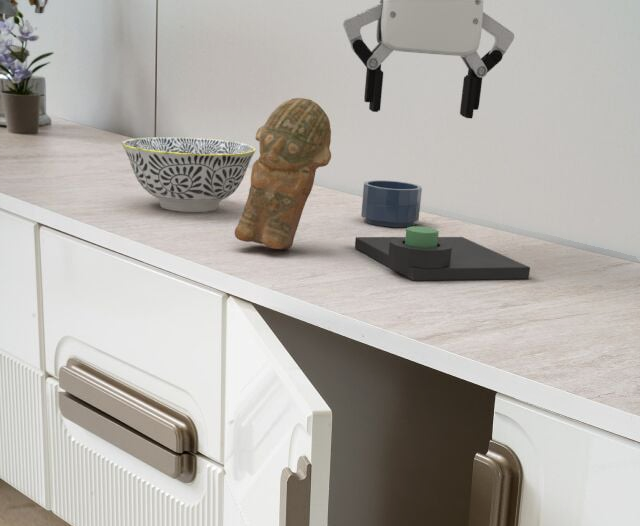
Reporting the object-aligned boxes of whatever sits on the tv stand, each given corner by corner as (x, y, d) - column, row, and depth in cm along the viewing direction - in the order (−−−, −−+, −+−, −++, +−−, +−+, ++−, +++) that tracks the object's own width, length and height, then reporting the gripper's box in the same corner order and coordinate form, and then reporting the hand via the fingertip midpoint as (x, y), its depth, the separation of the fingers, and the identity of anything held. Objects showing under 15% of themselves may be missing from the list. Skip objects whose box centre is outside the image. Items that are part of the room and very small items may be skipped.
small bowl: (403, 217, 142) (407, 180, 140) (427, 228, 136) (431, 190, 134) (352, 216, 140) (355, 179, 138) (374, 228, 134) (377, 189, 132)
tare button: (428, 243, 113) (430, 226, 113) (442, 250, 110) (444, 232, 110) (399, 243, 112) (401, 226, 111) (412, 250, 109) (414, 232, 109)
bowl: (98, 208, 133) (97, 142, 130) (156, 191, 147) (157, 131, 144) (223, 225, 128) (226, 157, 126) (271, 206, 142) (274, 145, 140)
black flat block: (461, 247, 126) (464, 220, 125) (529, 279, 114) (533, 249, 112) (345, 248, 121) (347, 220, 120) (402, 281, 109) (405, 250, 107)
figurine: (230, 251, 116) (236, 97, 110) (257, 238, 123) (264, 93, 117) (308, 261, 114) (318, 106, 108) (331, 247, 121) (341, 101, 115)
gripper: (516, -61, 114) (493, 116, 120) (346, -76, 112) (333, 104, 118) (536, -65, 107) (511, 123, 113) (356, -81, 105) (341, 111, 111)
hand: (420, 113), depth 116 cm, fingers open, 9 cm apart
